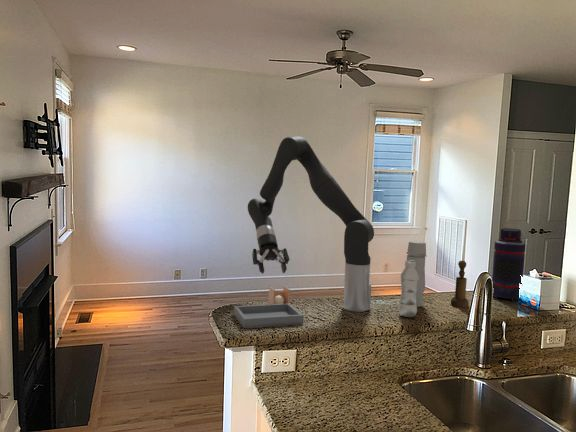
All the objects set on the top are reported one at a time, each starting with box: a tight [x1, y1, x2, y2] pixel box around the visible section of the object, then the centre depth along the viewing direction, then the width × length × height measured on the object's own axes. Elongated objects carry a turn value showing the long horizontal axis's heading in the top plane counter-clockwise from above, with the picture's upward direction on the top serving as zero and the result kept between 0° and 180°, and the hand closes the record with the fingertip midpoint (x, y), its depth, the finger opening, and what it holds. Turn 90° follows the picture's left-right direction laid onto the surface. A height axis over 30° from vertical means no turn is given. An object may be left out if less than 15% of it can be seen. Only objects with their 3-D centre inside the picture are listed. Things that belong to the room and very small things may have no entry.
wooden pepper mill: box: [450, 260, 470, 308], centre depth 183 cm, size 7×6×18 cm
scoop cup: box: [268, 285, 291, 304], centre depth 171 cm, size 6×6×8 cm
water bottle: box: [406, 240, 428, 308], centre depth 181 cm, size 9×8×25 cm
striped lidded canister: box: [491, 227, 526, 302], centre depth 199 cm, size 14×12×30 cm
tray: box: [233, 302, 305, 329], centre depth 156 cm, size 20×15×3 cm
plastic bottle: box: [397, 260, 419, 318], centre depth 165 cm, size 6×7×20 cm
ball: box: [275, 295, 284, 304], centre depth 171 cm, size 4×4×4 cm
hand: (273, 272), depth 178 cm, fingers open, 8 cm apart
